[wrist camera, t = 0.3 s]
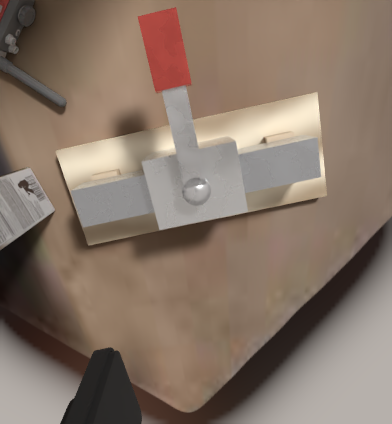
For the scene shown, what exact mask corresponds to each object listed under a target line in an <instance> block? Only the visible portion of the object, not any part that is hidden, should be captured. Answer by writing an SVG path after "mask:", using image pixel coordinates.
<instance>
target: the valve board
mask: <svg viewBox="0 0 392 424" xmlns="http://www.w3.org/2000/svg"><path fill="white" fill-rule="evenodd" d="M193 123H194V128H195V133H196V138H197V142H202V141H206V140H211V139H215V138H220V137H224V136H229V137H230V138H232V139H233V140H235V141H236V144H237V149H240V148H244V147H249V146H254V145H258V144H263V143H267V142H272V141H277V140H281V139H286V138H290V137H295V136H299V135H308V136H313V137H318V148H319V158H320V169H321V177H319V178H315V179H310V180H305V181H300V182H296V183H291V184H286V185H282V186H277V187H272V188H267V189H263V190H258V191H253V192H248V193H245V197H246V202H247V208H248V212H252V211H257V210H261V209H266V208H271V207H276V206H281V205H285V204H290V203H295V202H300V201H305V200H309V199H314V198H319V197H324V196H327V192H326V181H325V170H324V159H323V148H322V137H321V126H320V115H319V104H318V94H317V92H315V93H310V94H306V95H301V96H297V97H292V98H288V99H283V100H279V101H274V102H270V103H265V104H261V105H256V106H252V107H248V108H243V109H239V110H234V111H230V112H225V113H221V114H216V115H212V116H207V117H203V118H198V119H194V120H193ZM174 147H175V145H174V141H173V137H172V132H171V128H170V125H167V126H163V127H158V128H154V129H149V130H145V131H140V132H136V133H132V134H127V135H123V136H118V137H114V138H109V139H105V140H100V141H96V142H91V143H87V144H82V145H78V146H74V147H69V148H65V149H60V150H57V151H56V154H57V157H58V160H59V163H60V166H61V168H62V171H63V174H64V177H65V180H66V183H67V186H68V189H69V192H70V194H71V190H73V189H74V188H76V187H77V186H79V185H81V184H82V183H84V182H89V181H93V180H98V179H102V178H107V177H112V176H116V175H121V174H125V173H130V172H135V171H139V170H143V166H142V161H143V160H144V159H145V158H146V157H147V156H148V155H149V154H150V153H152V152H156V151H161V150H165V149H170V148H174ZM71 197H72V194H71ZM72 200H73V197H72ZM73 203H74V200H73ZM74 206H75V203H74ZM75 209H76V206H75ZM76 212H77V209H76ZM244 213H247V212H244ZM240 214H242V213H240ZM77 215H78V218H79V221H80V223H81V220H80V217H79V214H78V212H77ZM235 215H237V214H235ZM230 216H233V215H230ZM225 217H228V216H225ZM220 218H223V217H220ZM216 219H218V218H216ZM211 220H213V219H211ZM206 221H209V220H206ZM201 222H204V221H201ZM196 223H199V222H196ZM192 224H194V223H192ZM187 225H189V224H187ZM81 226H82V223H81ZM182 226H185V225H182ZM177 227H180V226H177ZM172 228H175V227H172ZM82 229H83V232H84V235H85V238H86V241H87V244H88V246H89V245H93V244H98V243H103V242H108V241H113V240H117V239H122V238H127V237H132V236H137V235H141V234H146V233H151V232H156V231H161V230H159V226H158V222H157V219H156V215H155V212H154V213H149V214H144V215H140V216H135V217H130V218H125V219H121V220H116V221H111V222H107V223H102V224H97V225H92V226H88V227H83V226H82ZM168 229H170V228H168ZM163 230H165V229H163Z"/></svg>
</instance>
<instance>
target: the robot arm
mask: <svg viewBox="0 0 392 424" xmlns="http://www.w3.org/2000/svg"><path fill="white" fill-rule="evenodd" d="M141 421H142V416H141V410H140V407H139V404H138V401H137V399H136V396H135V393H134V390H133V388H132V385H131V382H130V380H129V377H128V374H127V371H126V369H125V366H124V363H123V361H122V358H121V355H120V353H119V351H114V349H113V348H111V347H110V348H105V349H100V350H95V351H94V352H93V354H92V356H91V359H90V361H89V364H88V366H87V369H86V371H85V374H84V376H83V379H82V381H81V383H80V386H79V388H78V391H77V393H76V396H75V398H74V399H72V400H71V401H70V403H69V405H68V407H67V409H66V412H65V414H64V416H63V419H62V421H61V423H60V424H141Z"/></svg>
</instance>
